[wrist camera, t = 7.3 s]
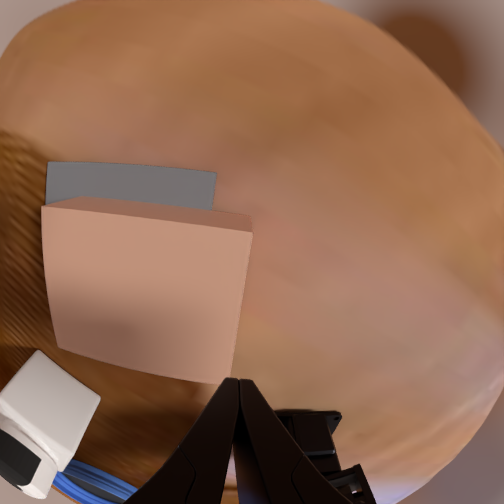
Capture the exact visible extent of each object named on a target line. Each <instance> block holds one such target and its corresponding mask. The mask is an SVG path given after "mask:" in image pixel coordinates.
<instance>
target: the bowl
mask: <svg viewBox="0 0 504 504" xmlns="http://www.w3.org/2000/svg"><path fill="white" fill-rule="evenodd" d="M52 484H53V485H55V486H56V487H57V488H58V489H60V490H61V491H62V492H64V493H65V494H67V495H68V496H70V497H71V498H73V499H75V500H76V501H78V502H80V503H82V504H122V503H123V502H124V501H125V500H127V499H128V498H129V497H130V496H131V495H132V494H133V493H135V492H136V491H137V490H138V489H137V488H135V487H133V486H132V485H130V484H128V483H126V482H124V481H123V480H121V479H119V478H117V477H115V476H113V475H110V474H108V473H106V472H104V471H102V470H100V469H97V468H95V467H93V466H90V465H88V464H85V463H83V462H80V461H77V460H74V459H71V460H70V462H69V463H68V465H67V466H66V468H65V469H64V470H63V471H62V472H60V471H57V473H56V475H55V478H54V480H53V482H52Z"/></svg>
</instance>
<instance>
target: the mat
mask: <svg viewBox="0 0 504 504" xmlns="http://www.w3.org/2000/svg"><path fill="white" fill-rule="evenodd" d="M216 176H217V173H216V172H208V171H199V170H190V169H181V168H171V167H160V166H148V165H134V164H118V163H96V162H48V168H47V182H46V205H48V204H52V203H55V202H59V201H63V200H67V199H71V198H76V197H80V196H87V197H98V198H109V199H119V200H129V201H138V202H147V203H156V204H165V205H173V206H181V207H189V208H197V209H204V210H212V204H213V197H214V190H215V183H216Z"/></svg>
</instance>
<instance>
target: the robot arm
mask: <svg viewBox="0 0 504 504" xmlns="http://www.w3.org/2000/svg"><path fill="white" fill-rule="evenodd" d="M341 419H342V415H341V413H340V412H320V413H280V412H274V411H273V410H272V408H271V407H270V406H269V404H268V403H267V401H266V400H265V398H264V397H263V395H262V394H261V392H260V391H259V389H258V388H257V386H256V385H255V383H254V382H253V381H252V380H250V379H239V380H238V379H237V378H231V377H226V378H224V380H223V381H222V383H221V384H220V386H219V387H218V389H217V390H216V392H215V393H214V395H213V396H212V398H211V399H210V401H209V402H208V403H207V405H206V406H205V408H204V409H203V411H202V412H201V414H200V415H199V417H198V418H197V419H196V421H195V422H194V424H193V425H192V427H191V428H190V429H189V431H188V432H187V434H186V435H185V436H184V438H183V439H182V441H181V442H180V443H179V445H178V447H176V449H175V450H174V451H173V453H172V454H171V456H170V457H169V458H168V459H167V460H166V462H165V463H164V464H163V465H162V467H161V468H160V469H159V470H158V471H157V472H156V473H155V474H154V475H153V476H152V477H151V478H150V479H149V480H148V481H147V482H146V483H145V484H144V485H142V486H141V487H140V488H139V489H138V490H137V491H136V492H135V493H133V494H132V495H131V496H130V497H129V498H128V499H127V500H125V501H124V502H123V503H122V504H220V503H221V498H222V494H223V489H224V484H225V479H226V474H227V469H228V464H229V459H230V454H231V449H232V444H233V451H234V461H235V470H236V480H237V489H238V497H239V504H376V501H375V498H374V496H373V494H372V491H371V489H370V486H369V484H368V482H367V479H366V477H365V475H364V472H363V470H362V467H361V465H360V464H357V465H354V466H353V467H351V468H348V469H345V470H341V466H340V463H339V460H338V456H337V453H336V448H335V445H334V442H333V439H332V434H333V432H334V431H335V429H336V427H337V426H338V424H339V422H340V420H341ZM353 491H357V492H356V493H353V494H352V492H353Z"/></svg>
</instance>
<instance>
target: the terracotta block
mask: <svg viewBox="0 0 504 504" xmlns="http://www.w3.org/2000/svg"><path fill="white" fill-rule="evenodd" d="M41 217H42V246H43V260H44V270H45V279H46V287H47V294H48V300H49V306H50V312H51V317H52V322H53V327H54V332H55V336H56V341H57V345H58V347H59V348H61V349H64V350H67V351H70V352H73V353H76V354H79V355H82V356H86V357H89V358H92V359H95V360H99V361H102V362H106V363H110V364H113V365H117V366H121V367H125V368H129V369H133V370H137V371H142V372H146V373H151V374H156V375H161V376H166V377H171V378H177V379H182V380H188V381H195V382H201V383H209V384H216V385H220V384H221V383H222V381H223V380H224V378H226V377H230V373H231V367H232V361H233V354H234V348H235V342H236V336H237V329H238V323H239V317H240V311H241V304H242V298H243V292H244V286H245V280H246V273H247V267H248V261H249V255H250V249H251V243H252V236H253V229H252V224H251V218H250V216H247V215H240V214H233V213H226V212H219V211H212V210H204V209H197V208H189V207H181V206H173V205H165V204H156V203H147V202H138V201H129V200H119V199H109V198H98V197H87V196H80V197H76V198H71V199H67V200H63V201H59V202H55V203H52V204H48V205H44V206H42V208H41Z"/></svg>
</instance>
